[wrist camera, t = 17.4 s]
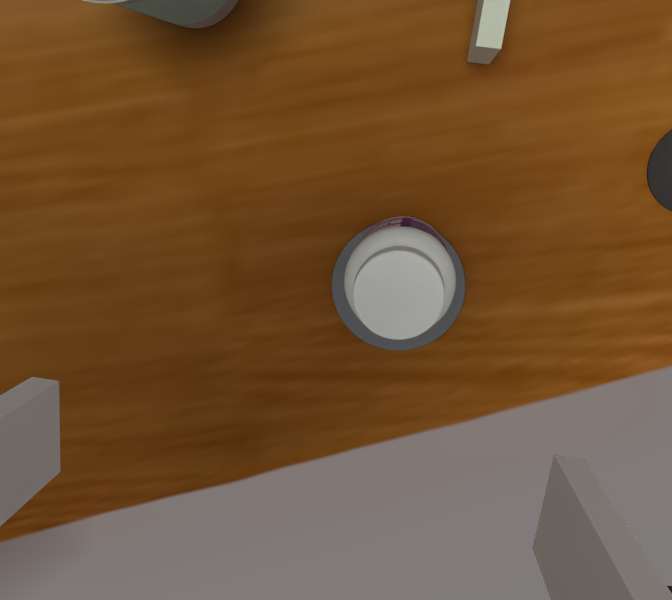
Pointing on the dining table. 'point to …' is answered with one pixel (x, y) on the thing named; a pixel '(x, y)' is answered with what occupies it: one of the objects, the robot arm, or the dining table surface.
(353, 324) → the coaster
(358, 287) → the pill bottle
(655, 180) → the hole pad
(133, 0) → the coffee cup
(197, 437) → the dining table surface
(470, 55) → the frame
